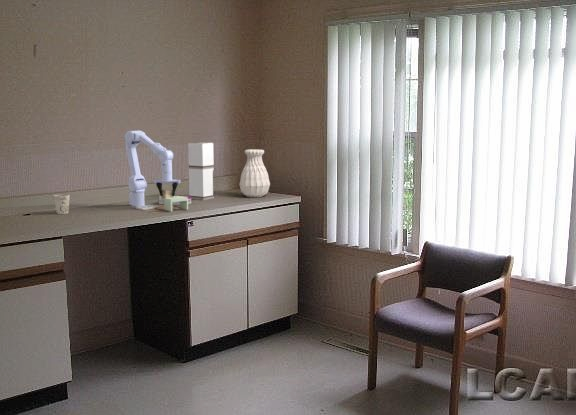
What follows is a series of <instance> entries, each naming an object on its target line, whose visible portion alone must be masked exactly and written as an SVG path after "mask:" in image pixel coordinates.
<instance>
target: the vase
mask: <svg viewBox="0 0 576 415" xmlns="http://www.w3.org/2000/svg"><path fill="white" fill-rule="evenodd" d="M244 154H245V155H246V156H247V157H246V158H247V159H246V163H245V165H244V166H243V170H242V171H241V175H240V181H239V188H240V191H241V193H242V194H243V195H244V196H245V197H247V198H263V197H264V196H265V195H267V194H268V193H269V190H270V186H271V182H270V178H269V177H270V176H269V173H268V171H267V168H266V166H265V164H264V162H263V155H264V154H265V150H264V149H256V148H255V149H245V150H244Z"/></svg>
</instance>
